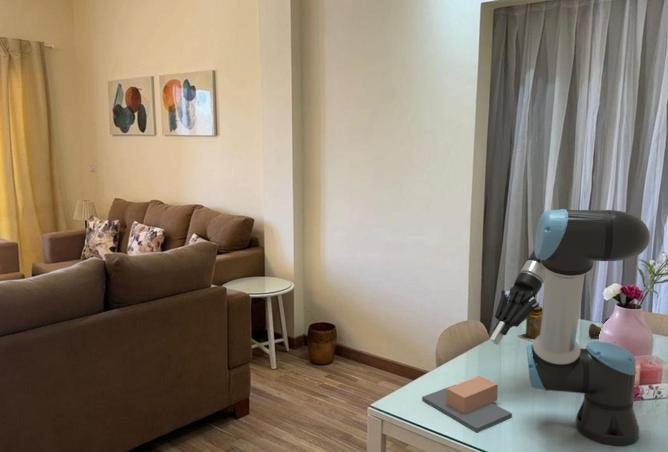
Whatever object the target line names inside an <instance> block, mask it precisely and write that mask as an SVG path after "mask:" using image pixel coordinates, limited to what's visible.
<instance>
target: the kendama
mask: <svg viewBox="0 0 668 452" xmlns="http://www.w3.org/2000/svg"><path fill="white" fill-rule="evenodd" d="M609 318H610V317H607V318H606V319H604V321H603V323H602V325H603V324H604V323H605V322H606V321H607V320H608V319H609ZM588 327H589V328H588V336H589V338H590V339H593V338H599V334H600V331H601V328H602V327H600V326H598V325H596V324H594V323H590V325H589V326H588Z"/></svg>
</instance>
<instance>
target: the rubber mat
mask: <svg viewBox="0 0 668 452" xmlns="http://www.w3.org/2000/svg"><path fill="white" fill-rule="evenodd" d="M455 385H456V384H454V385H453V384H452V385H450V386H448V387H444V388H442V389H439V390H437V391H435V392H432V393H429V394H426V395H423V396H422V397H421V398H422V399H421V401H423V402H424V403H426V404H428V405H429V406H431V407H432V408H434V409H435V410H438V411H440V412H441V413H442V414H445V415H446V416H448V417H449V418H452V420H455V421H456V422H458V423H460V424H462V425H463V426H465V427H467V428H468V429H469V430H472V431H473V432H475V433H479V432H481V431H484V430H486V429H488V428H490V427H492V426H496V425H497V424H500V423H502V422H504V421H506V420H508V419H511V418H513V413H512V412H510V411H509V410H506V409H504V408H503V407H500V406H499V405H497V404H495V403H494V402H492V403H489V404H487V405H485V406H482V407H480V408H478V409H475V410H473V411H471V412H468V413H466V414H463V413H461V412H459V411H457V410H455V409H454V408H452V407H450V406H448V405H446V389H447V388H449V387H452V386H455Z"/></svg>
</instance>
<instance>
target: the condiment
mask: <svg viewBox="0 0 668 452" xmlns="http://www.w3.org/2000/svg"><path fill="white" fill-rule="evenodd" d="M542 309H543V306H540V305H539V306H538V307H536V308H534V309H533V310H532V311H531V312H530V314H529V315H528V316H527V317H526V320H525V321H526V326H525V333H522V334H519V335H518V337H519V338H521V339H525V340H527V341H530V342H532V343H533V342H534V340H535V338H536V337H538V336H539V335H538V330H537V329H536V328H534V326H533V325H534V320H535V318H536V317H537V316H539V315H542Z"/></svg>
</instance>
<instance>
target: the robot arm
mask: <svg viewBox="0 0 668 452" xmlns="http://www.w3.org/2000/svg"><path fill="white" fill-rule="evenodd" d="M536 227H537V228H536V232H535V241H534V247H533V250H532V251H531V253H530V255H529V256H528V258H527V260H526V262H525V263H524V265H523V267H522V268H521V270H520V272H519V274H518V275H517V276H516V278H515V280H514V283H513V286H512V287H511V288H510V289H509V290H506V291H505V290H504V289H503V290H501V293H500V299H499V303H498V305H497V309H496V312H495V314H494V317H495V318H496V320H497V322H496V324H495V326H494V327H493V333H492V335H491V336H490V338H489V340H490V341H491V342H492V343H493V344H494V345H497V346H498V345H499V344H500V342H501V341H502V339H503V337H504V336H506V335H507V334H508V332H509V331H510V329H511V328H512V327H515V328H518V327H519V326H520V325H521V323H523V322H524V321H525V319H527V316H528V315H529V314H530V312H531V311H532V310H533V309H534V308H536V307H538V306H540V303H539V302H538V300H537V299H536V295H537V294H538V293H539V292H540V290H541V289H542V286H543V284H544V290H543V302H542V320H541V331H540V335H539V336H538V337H536V338H535V340H534V342H532V344H528V345H527V346H526V357H527V366H528V375H529V383H530V386H531V387H532V388H534V389H535V390H540V391H541V390H542V391H545V392H546V391H547V392H548V391H550V392H562V393H563V392H564V393H574V394H584V398H583V400H582V403H581V405H580V407H579V409H578V412H577V414H576V418H575V426H576V429H577V431H578V432H579V433H580V434H581V435H583V436H584V437H586V438H588V439H590V440H592V441H595V442H598V443H599V444H604V445H611V446H628V445H632V444H635V443H636V442H637V441H638V439H639V435H640V427H639V424H638V420H637V417H636V413H635V410H634V400H635V399H634V396H635V383H636V382H635V381H636V375H637V368H636V366H637V365H636V364H637V363H636V357H635V356H634V354H632V352H631V351H629V350H628V349H626V348H624V347H622V346H621V345H617V344H614V343H610V342H607V341H595V340H594V341H589V342H588V343H587V345H586V346H585V348H582V347H580V345H579V343H578V342H577V341H576V339H577V333H578V332H577V331H578V325H579V317H580V309H581V304H582V297H583V296H582V295H583V289H584V282H585V281H584V280H585V275H588V273H590V272H591V271H592V269H593V268H594V262H617V261H618V262H619V261H624V260H629V259H632V258H635V257H637V256H640V255H641V254H642V253H643V252H645V250H646V249H647V248H648V246H649V244H650V239H651V236H650V235H651V234H650V233H651V232H650V230H649V227H648V226H647V225H646V223H645V222H644V221H643V220H642V219H640V218H639V217H637V216H636V215H633V214H631V213H629V212H625V211H623V210H622V211H621V210H615V209H614V210H613V209H602V210H601V209H597V210H596V209H580V210H579V209H566V208H561V209H550V210H549V209H548V210H546V211H544V212H543V213H542V214H541V215H540V218H539V219H538V223H537V226H536Z"/></svg>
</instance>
